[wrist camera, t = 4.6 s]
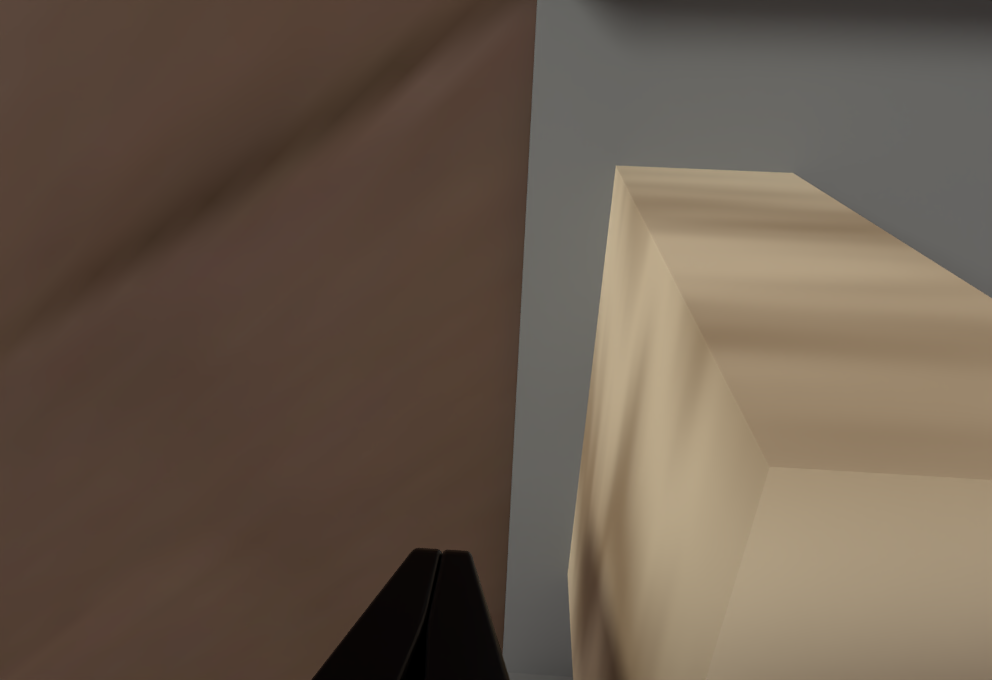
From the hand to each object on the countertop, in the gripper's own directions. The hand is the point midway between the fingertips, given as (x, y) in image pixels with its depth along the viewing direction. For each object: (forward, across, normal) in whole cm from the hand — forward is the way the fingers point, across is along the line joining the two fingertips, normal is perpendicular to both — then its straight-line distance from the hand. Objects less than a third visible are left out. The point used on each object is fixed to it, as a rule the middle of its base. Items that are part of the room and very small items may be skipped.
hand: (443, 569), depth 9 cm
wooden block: (+4, -4, 0) cm, 6 cm away
